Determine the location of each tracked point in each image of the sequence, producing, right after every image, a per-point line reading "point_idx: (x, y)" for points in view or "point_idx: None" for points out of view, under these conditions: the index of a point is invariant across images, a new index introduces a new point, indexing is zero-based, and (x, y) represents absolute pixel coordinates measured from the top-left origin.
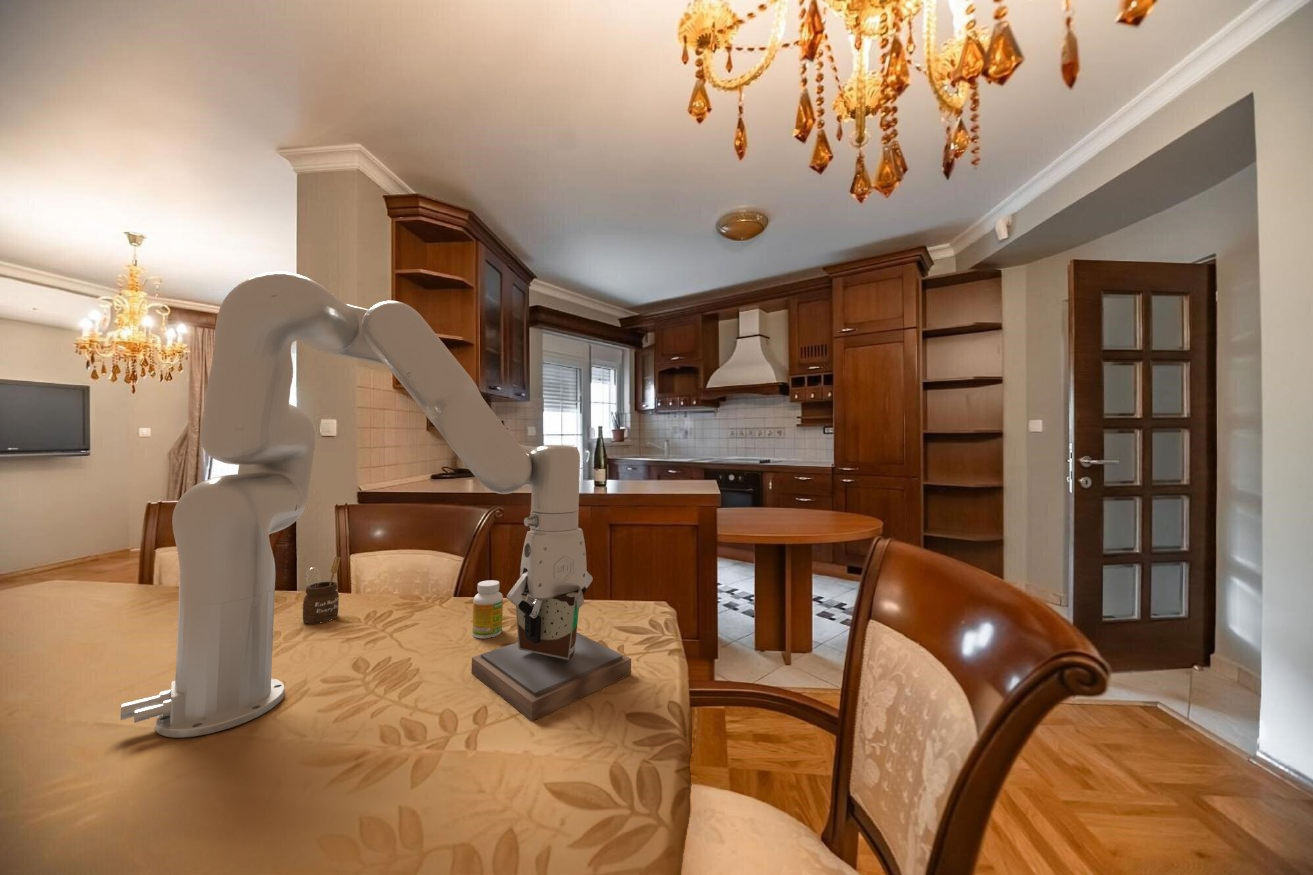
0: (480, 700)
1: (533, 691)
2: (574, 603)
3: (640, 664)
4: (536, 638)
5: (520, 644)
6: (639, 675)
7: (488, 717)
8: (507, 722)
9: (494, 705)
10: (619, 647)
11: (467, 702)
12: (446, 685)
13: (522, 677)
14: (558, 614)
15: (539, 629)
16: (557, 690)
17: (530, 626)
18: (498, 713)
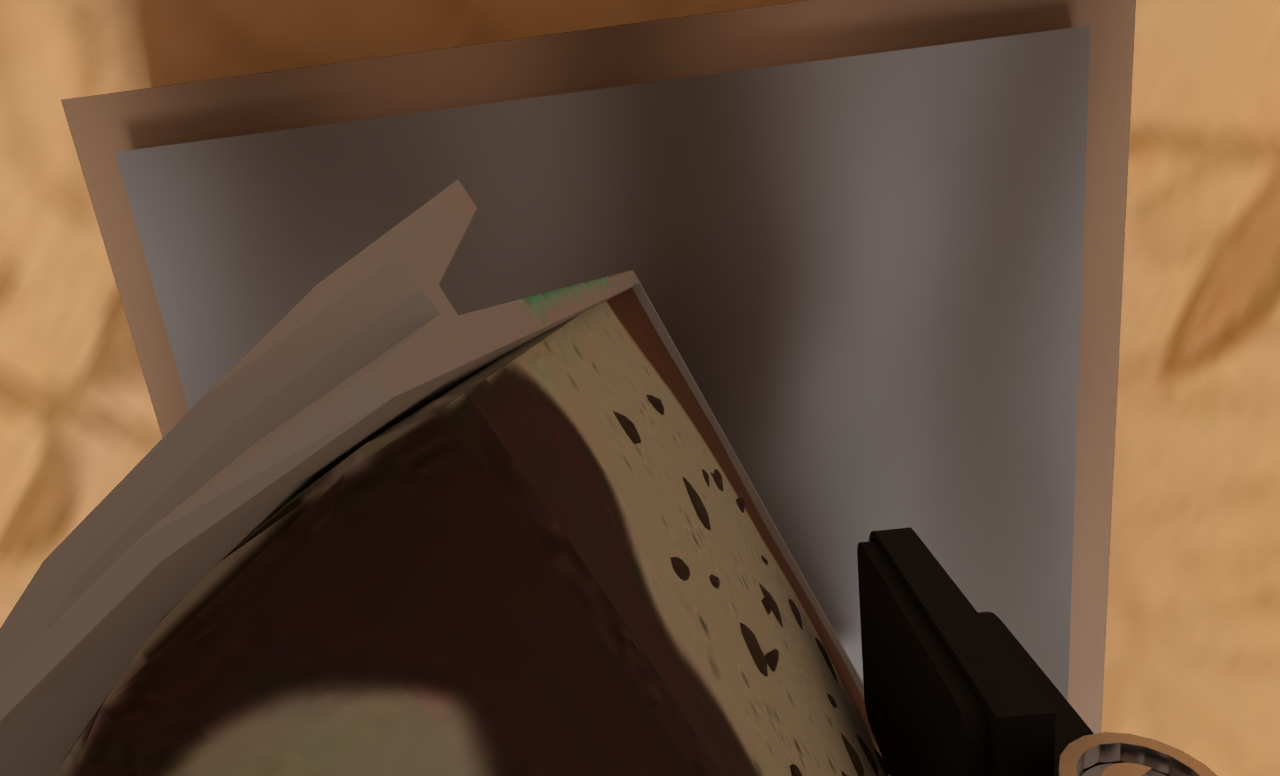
0: (1156, 444)
1: (1089, 49)
2: (513, 329)
3: (14, 208)
4: (927, 551)
5: None
6: (101, 61)
7: (1223, 227)
8: (1170, 93)
9: (1124, 337)
10: (44, 533)
11: (1222, 469)
12: (1211, 717)
13: (1028, 328)
14: (735, 597)
15: (929, 602)
16: (881, 3)
17: (1048, 685)
18: (1155, 232)
